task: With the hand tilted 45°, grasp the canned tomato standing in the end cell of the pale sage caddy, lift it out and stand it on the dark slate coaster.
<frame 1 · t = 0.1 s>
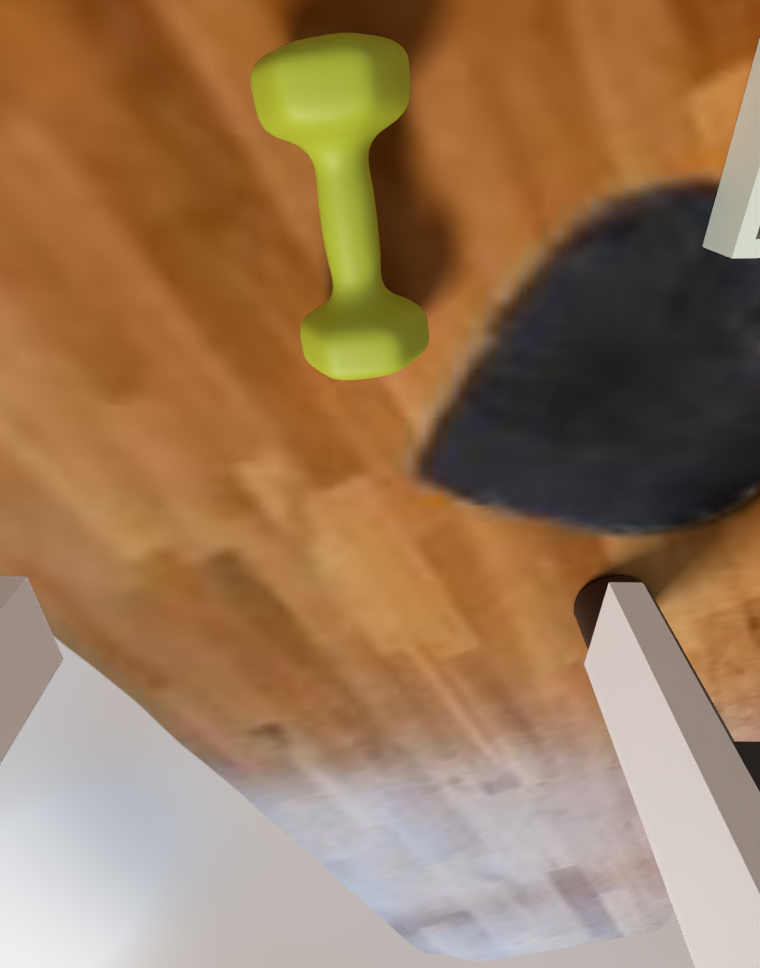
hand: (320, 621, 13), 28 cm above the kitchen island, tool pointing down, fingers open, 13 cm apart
dumbbell: (352, 215, 34), on the kitchen island
bottle: (609, 599, 51), on the kitchen island
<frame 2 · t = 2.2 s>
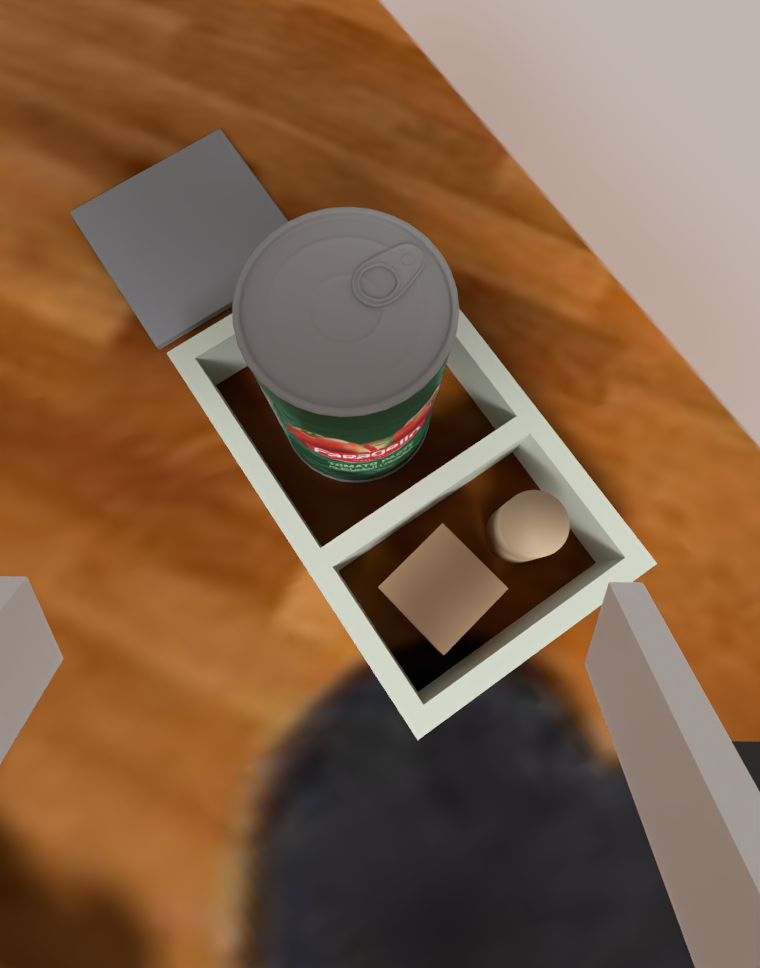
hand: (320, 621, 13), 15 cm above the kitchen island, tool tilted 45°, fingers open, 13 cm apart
beech dowel: (514, 533, 29), resting in caddy
caddy: (399, 471, 29), on the kitchen island
canned tomato: (357, 412, 30), resting in caddy
slate coaster: (191, 237, 32), on the kitchen island
walnut block: (434, 589, 28), resting in caddy
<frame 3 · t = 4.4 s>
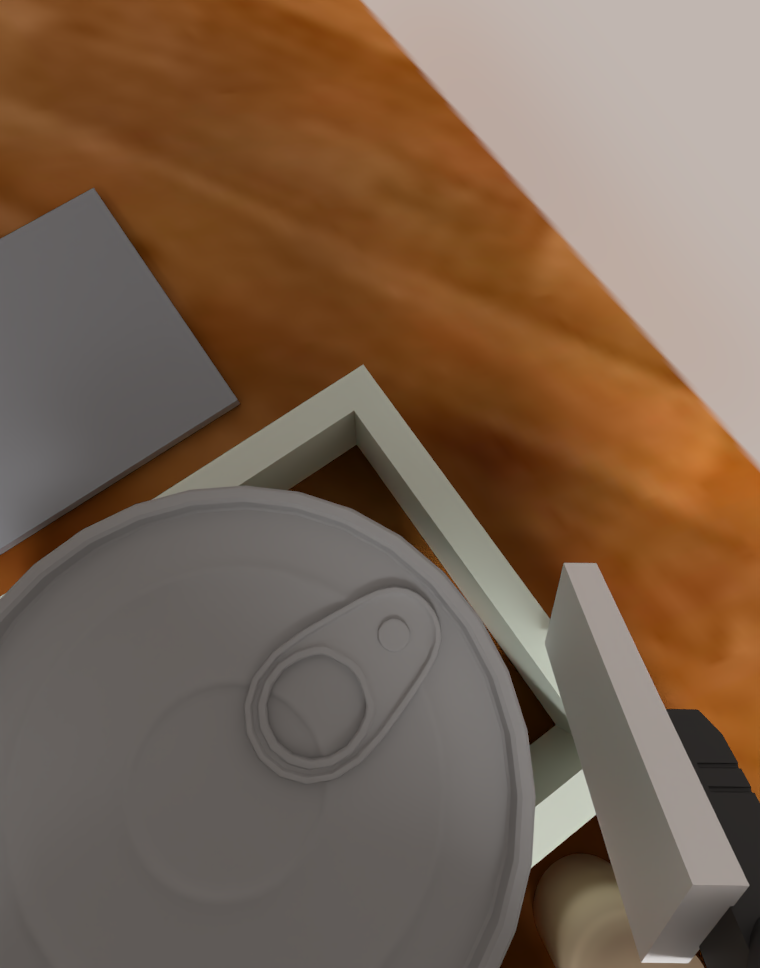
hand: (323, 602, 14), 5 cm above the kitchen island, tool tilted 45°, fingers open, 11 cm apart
beech dowel: (584, 910, 17), resting in caddy
caddy: (383, 792, 17), on the kitchen island
canned tomato: (311, 678, 18), resting in caddy
slate coaster: (42, 368, 20), on the kitchen island
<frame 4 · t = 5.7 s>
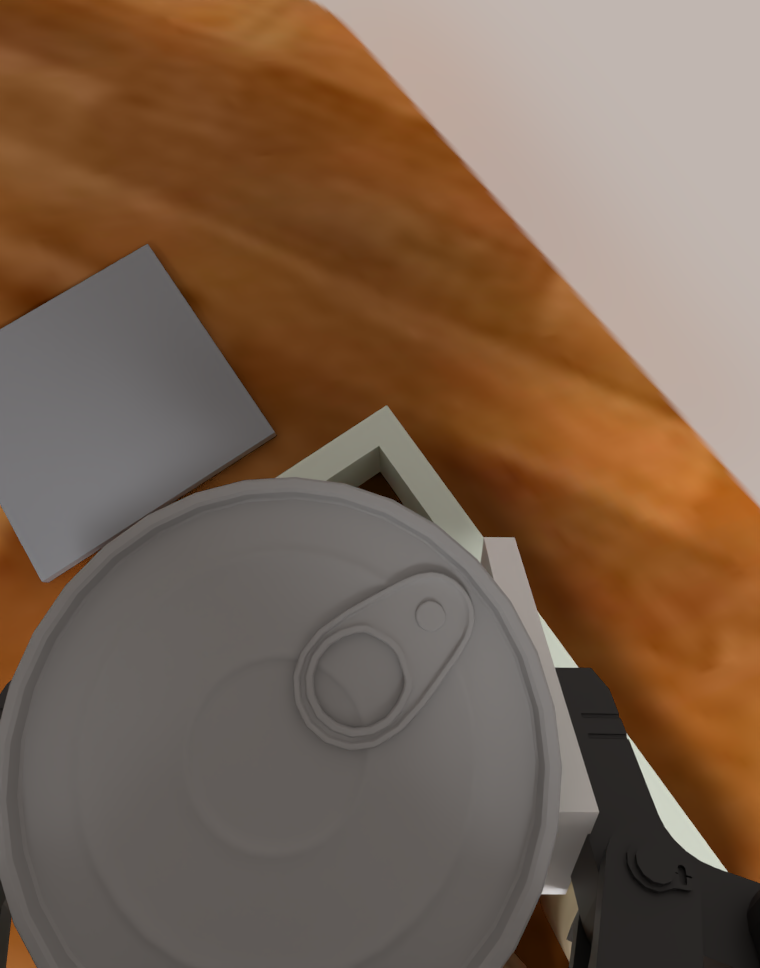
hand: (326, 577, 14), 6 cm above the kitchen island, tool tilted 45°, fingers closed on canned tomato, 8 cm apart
beech dowel: (584, 891, 18), resting in caddy
caddy: (404, 783, 19), on the kitchen island
canned tomato: (339, 671, 19), point 2 cm above the kitchen island, touching gripper
slate coaster: (103, 404, 22), on the kitchen island
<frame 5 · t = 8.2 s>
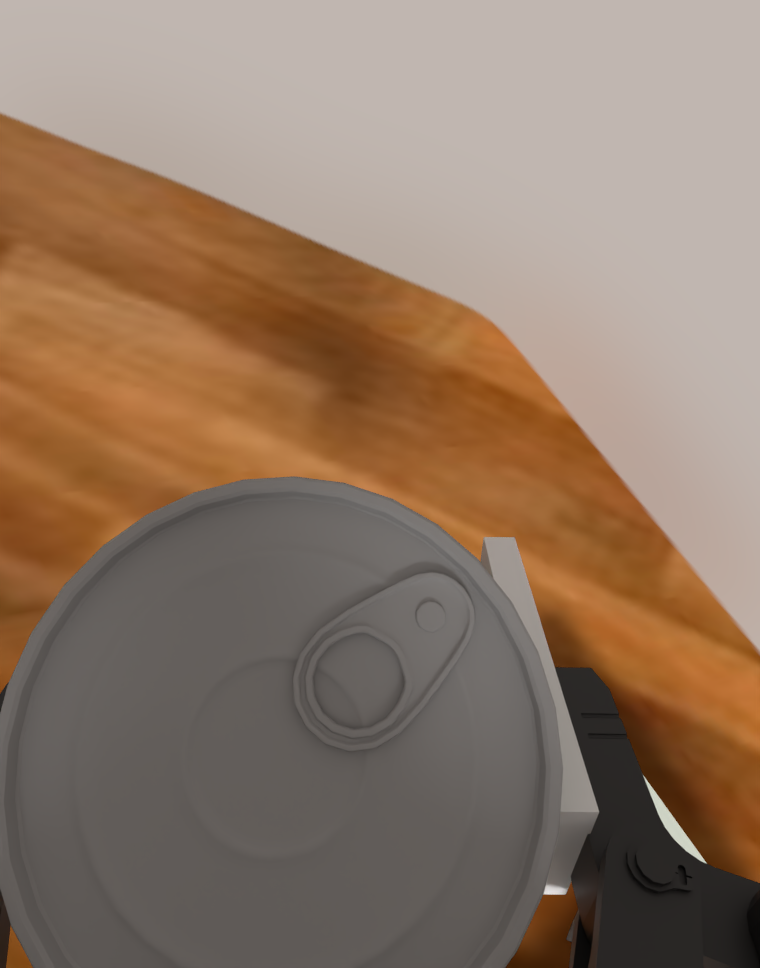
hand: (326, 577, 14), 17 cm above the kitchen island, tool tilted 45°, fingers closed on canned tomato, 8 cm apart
caddy: (585, 940, 28), on the kitchen island
canned tomato: (339, 671, 19), point 13 cm above the kitchen island, touching gripper
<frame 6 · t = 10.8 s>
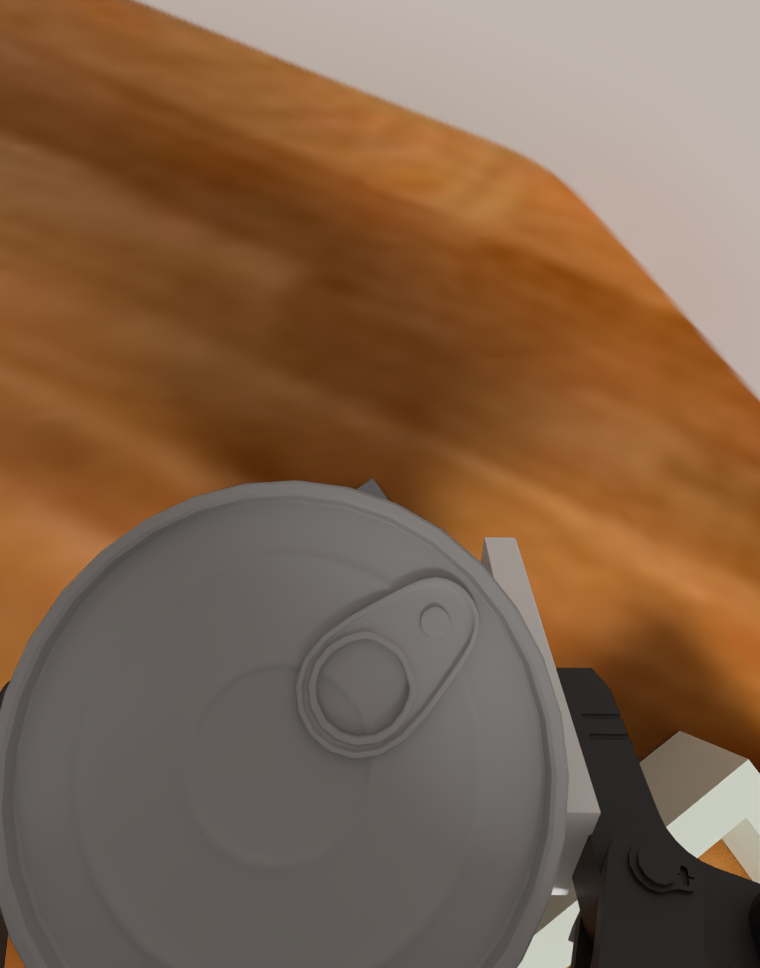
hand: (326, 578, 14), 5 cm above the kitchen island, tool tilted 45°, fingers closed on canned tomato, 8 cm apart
canned tomato: (337, 671, 18), resting on slate coaster, touching gripper
when the fingers open (5 cm above the kitchen island, at t = 10.8 s): canned tomato stays where it is, resting on slate coaster.
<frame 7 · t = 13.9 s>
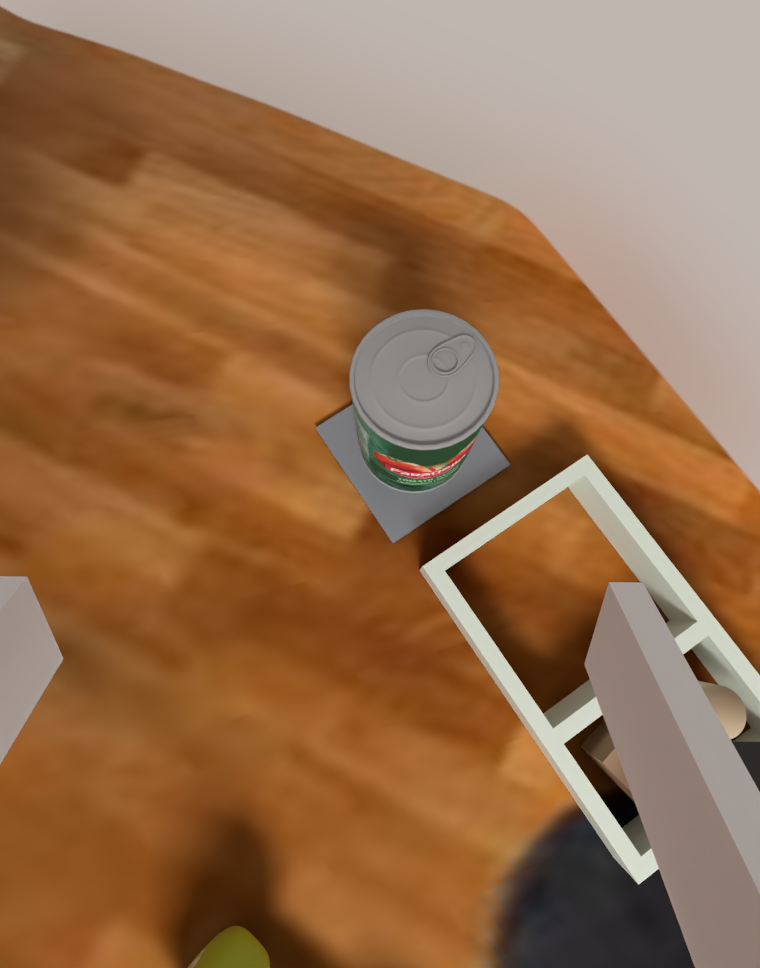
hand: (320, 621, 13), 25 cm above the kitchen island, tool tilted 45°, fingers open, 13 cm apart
beech dowel: (684, 701, 37), resting in caddy
caddy: (590, 648, 37), on the kitchen island
canned tomato: (413, 440, 40), resting on slate coaster
slate coaster: (411, 447, 41), on the kitchen island
walnut block: (623, 747, 36), resting in caddy
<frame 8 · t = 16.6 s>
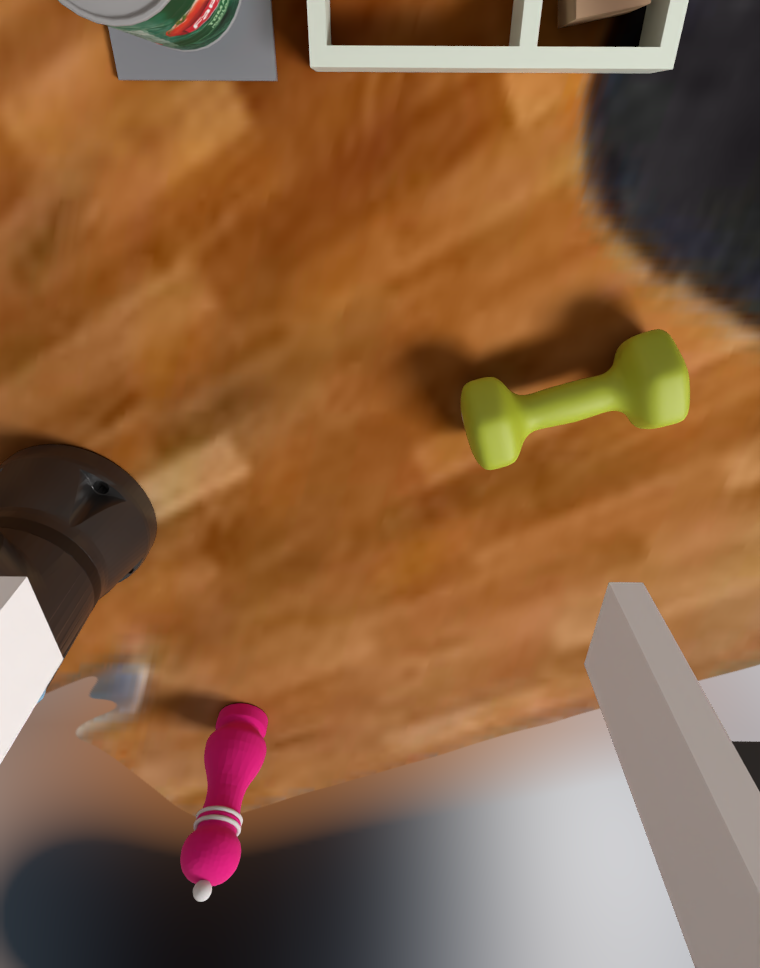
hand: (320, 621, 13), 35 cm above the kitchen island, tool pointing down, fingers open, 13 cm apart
dumbbell: (555, 383, 47), on the kitchen island
pepper mill: (243, 716, 72), on the kitchen island
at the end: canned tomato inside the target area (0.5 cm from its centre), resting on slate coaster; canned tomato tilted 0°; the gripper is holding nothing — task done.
